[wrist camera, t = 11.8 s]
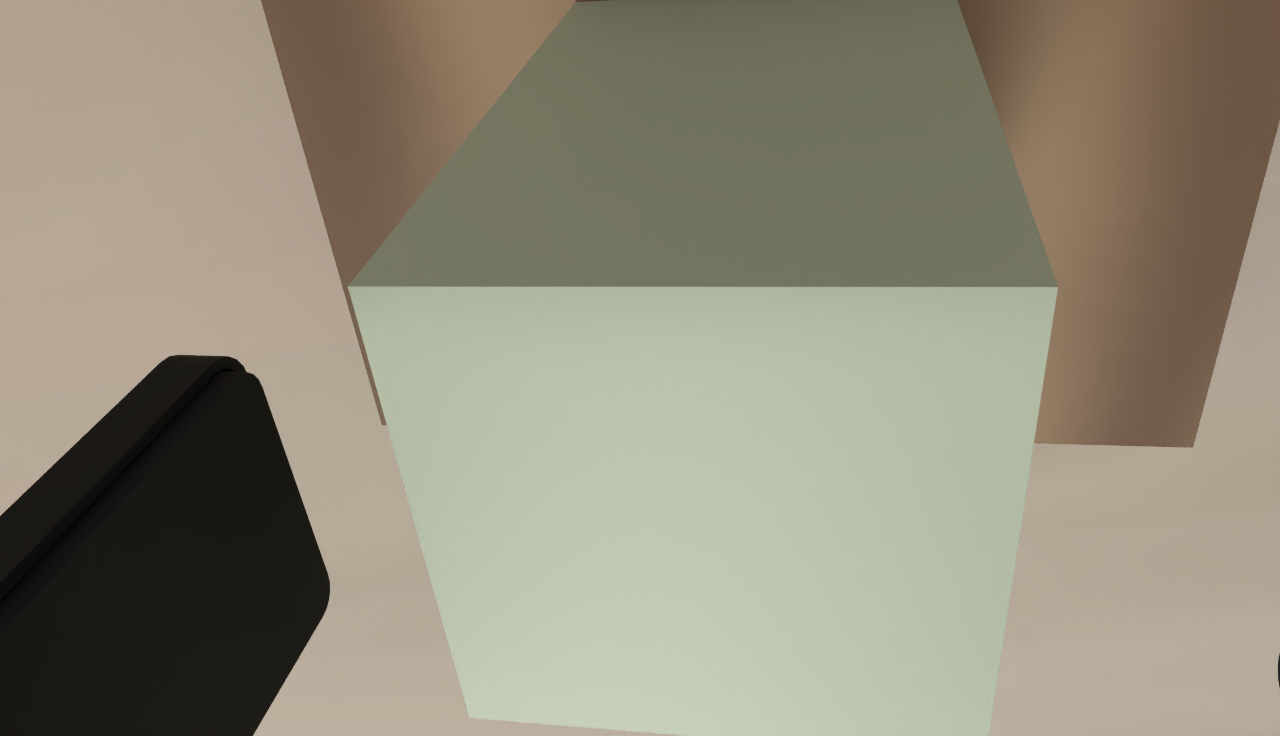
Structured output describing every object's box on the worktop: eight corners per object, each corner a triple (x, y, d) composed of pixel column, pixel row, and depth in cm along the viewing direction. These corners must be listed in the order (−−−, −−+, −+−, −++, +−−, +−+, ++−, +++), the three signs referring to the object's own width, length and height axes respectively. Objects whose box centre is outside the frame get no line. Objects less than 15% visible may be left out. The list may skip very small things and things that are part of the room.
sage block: (950, -18, 13) (1058, 287, 7) (926, 314, 16) (984, 759, 9) (575, 1, 14) (347, 286, 8) (613, 312, 17) (469, 718, 10)
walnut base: (1262, -294, 14) (1386, -283, 11) (1134, 319, 20) (1192, 447, 17) (332, -207, 17) (210, -177, 14) (448, 314, 22) (382, 425, 19)
